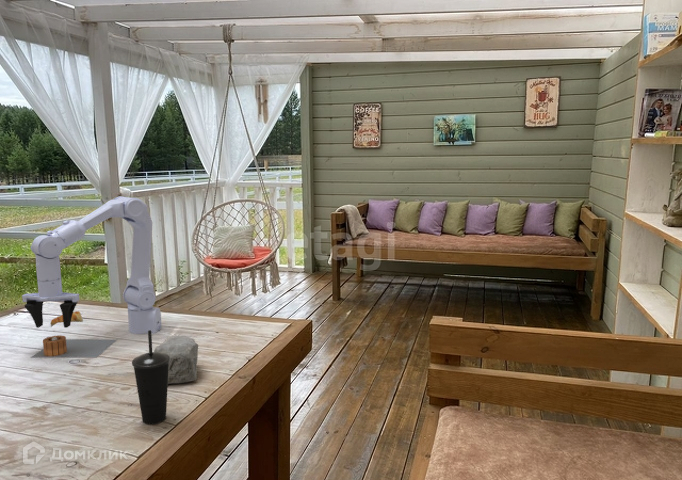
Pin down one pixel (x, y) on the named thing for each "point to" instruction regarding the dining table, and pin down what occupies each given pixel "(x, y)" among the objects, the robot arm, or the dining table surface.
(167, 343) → the stone
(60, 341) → the bead
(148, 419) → the drinking cup
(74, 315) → the pastry
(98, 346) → the grey rectangular slab
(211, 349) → the dining table surface
